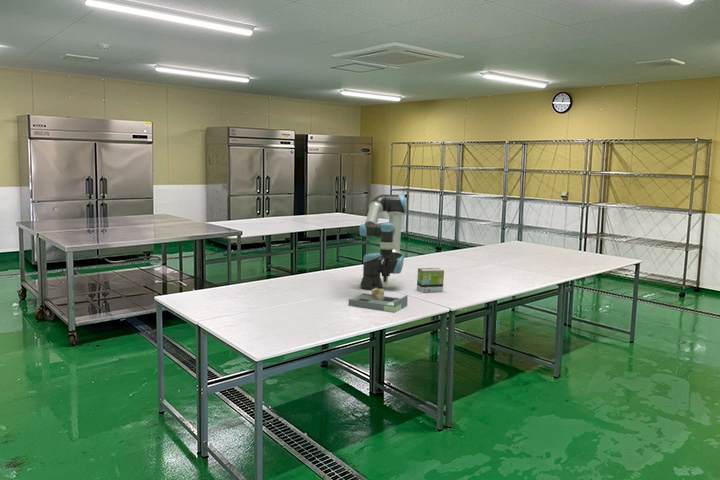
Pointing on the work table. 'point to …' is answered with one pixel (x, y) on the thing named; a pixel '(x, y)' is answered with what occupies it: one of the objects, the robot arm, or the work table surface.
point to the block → (377, 293)
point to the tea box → (430, 279)
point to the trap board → (379, 302)
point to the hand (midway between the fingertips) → (385, 286)
